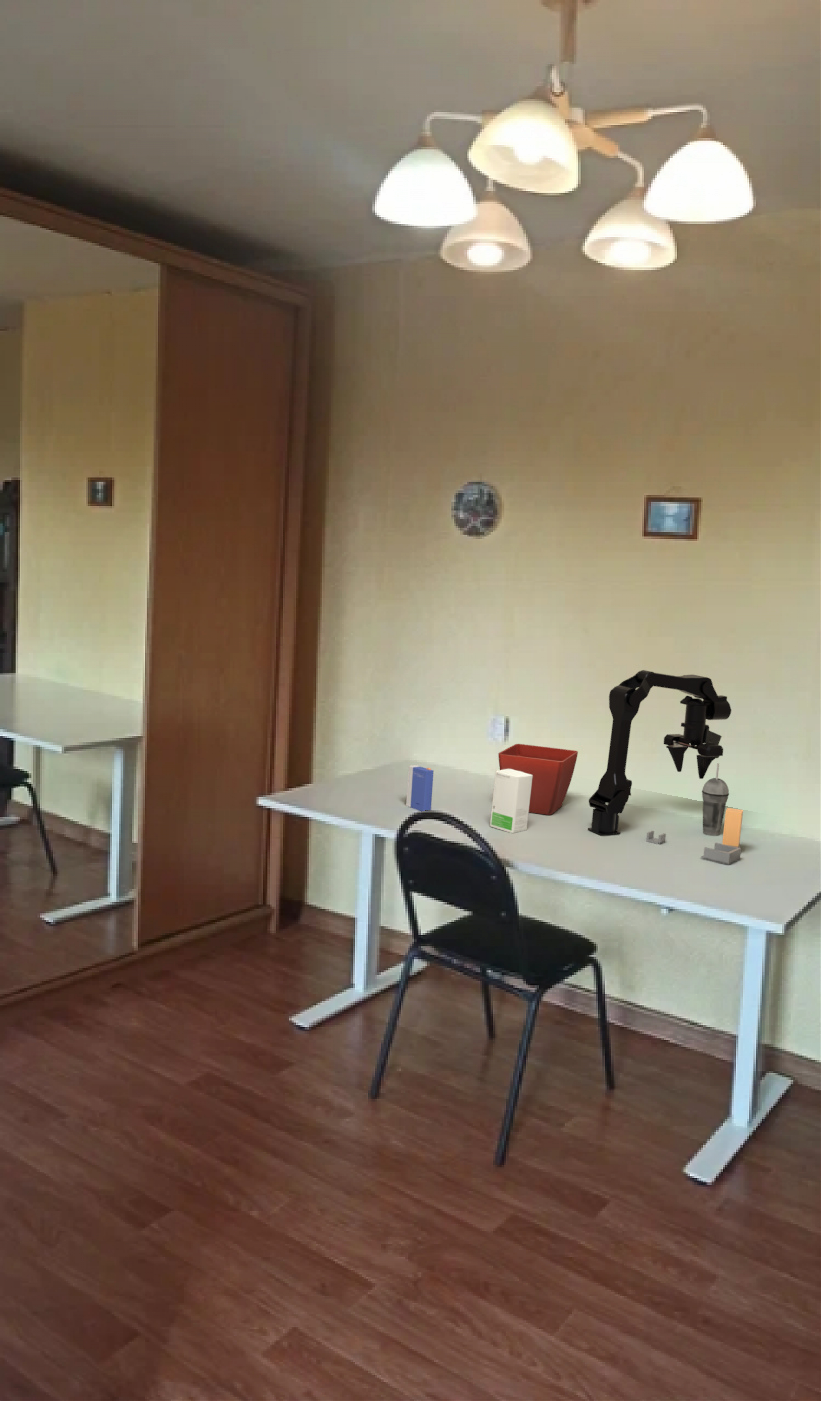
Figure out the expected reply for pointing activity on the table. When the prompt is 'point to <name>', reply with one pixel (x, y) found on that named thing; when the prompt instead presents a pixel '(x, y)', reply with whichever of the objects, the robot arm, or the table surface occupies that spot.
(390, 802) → the table surface
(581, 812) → the table surface
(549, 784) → the plant pot
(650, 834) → the clip
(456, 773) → the table surface
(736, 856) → the holder
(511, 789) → the skincare box
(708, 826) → the beverage cup
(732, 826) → the plug
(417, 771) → the walkman
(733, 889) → the table surface
